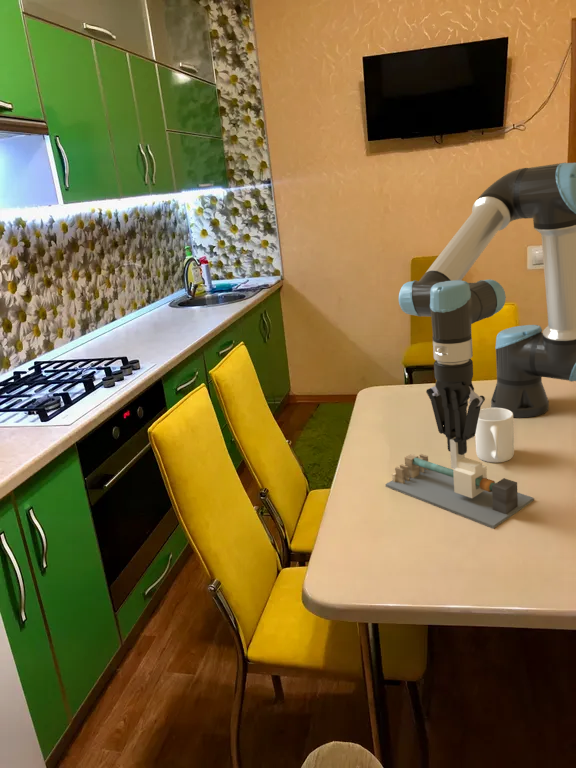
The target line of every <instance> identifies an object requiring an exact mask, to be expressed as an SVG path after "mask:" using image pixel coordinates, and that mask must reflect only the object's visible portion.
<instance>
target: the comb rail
mask: <svg viewBox="0 0 576 768" xmlns="http://www.w3.org/2000/svg"><path fill="white" fill-rule="evenodd" d="M424 469H425V470H432V471H435V472H438V473H441V474H444V475H447V476H450V477H453V478H454V474H453V470H454V469H453V468H449V467H446V466H444V465H440V464H436V463H434V462H430V461H429V456H428V455H426V454H422V453H420V454H419V455H416V454H413V453H411V454H408V455H406V456H404V464H400V465H399V467H398V466H396V467H395V468H394V470H395V472H393V473H392V474H391V476H392V479H391V480H393V482H396V481H397V482H400V483H402V484H403V483H405V480H406V481H409V477H410V478H414V477H416V476H418V475H420V474H419V472H422V473H423V472H424ZM475 484H476V485H477V486H480V489H482V490H485V491H488V492H492V499H493V510H495V511H498V512H501V513H503V514H508V513H509V512H511V511H512V510H513V509H515V508H516V507H518V498H517V492H518V482H517V481H514V480H511V479H507V478H502V479H500V480H499V481H497V482H495V480H492V479H489V478H488V477H487V478H483V479H480V478H476V479H475Z"/></svg>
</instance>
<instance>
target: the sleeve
mask: <svg viewBox="0 0 576 768" xmlns="http://www.w3.org/2000/svg"><path fill="white" fill-rule="evenodd" d="M487 470H488V469H487V466H486V465H484V464H483V462H481V461H478V460H474V459H472V458H467V457H464V458H462V459H460V460H459V461H457V468H455V469H453V474H454V492H456V493H458V494H461V495H464V496H467V497H470V498H474V497H475V496H477V495H478V494H480V493H481V492H483V491H485V490H482V489H480V486H477V485H476V484H475V479H476V478H480V479H483V478H487V479H488V474H487Z"/></svg>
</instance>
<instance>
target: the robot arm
mask: <svg viewBox="0 0 576 768" xmlns="http://www.w3.org/2000/svg"><path fill="white" fill-rule="evenodd" d="M471 209H472V210H471V214H470V215H469V216H468V217H467V219H466V220H465V222H463V224H462V225H461V226H460V228H459V229H458V230H457V231H456V233H455V234H454V235H453V237H452V238H451V239H450V240H449V242H448V243H447V244H446V246H445V247H444V248H443V250H442V251H441V252H440V253H439V255H438V256H437V257H436V259H435V260H434V261H433V262H432V264H431V265H430V266H429V268H428V269H427V270H426V272H425V273H424V274H423V275H422V276H421V278H420V279H419V281H418V280H413V281H412V280H411V281H407V282H405V283H403V285H402V286H401V288H400V290H399V293H398V304H399V307H400V309H401V311H402V312H404V313H405V314H406V315H410V316H417V317H431V327H432V328H431V329H432V346H433V347H432V349H433V351H432V353H433V359H434V360H435V361H434V363H433V369H434V370H433V371H434V373H433V374H434V379H435V380H436V381H435V385H434V386H432V387H429V388H427V389H426V391H425V392H426V394H427V396H428V398H429V399H430V403H431V406H432V410H433V415H434V418H435V423H436V426H437V430H438V433H440V434H443V435H445V438H446V441H447V442H446V443H447V450H448V452H449V453H450V454H449V455H450V467H451V468H450V469H453V470H454V469H455V468H457V461H459V460H460V459H462V458H464V457H465V456H466V455H465V454H466V453H467V452H468V445H467V444H468V443H467V441H469V440H470V439H472V438H474V437H475V433H476V428H477V423H478V418H479V413H480V410H481V407H482V405H483V404H484V402H485V400H486V397H485V396H484V395H478V394H477V393H476V391H475V387H474V385H473V381H472V380H473V377H474V365H473V364H474V361H473V360H472V358H473V355H474V354H473V338H472V325H473V324H475V323H477V322H480V321H482V320H484V319H488V318H490V317H493V316H494V315H495V314H497V313H499V312H500V311H501V310H502V309H503V308H504V306H505V305H506V304H505V303H506V301H507V300H506V298H507V296H506V292H505V289H504V287H503V286H502V285H501V283H499V282H498V281H496V280H494V279H483V280H482V279H481V280H480V279H479V280H478V281H476V282H468V281H465V280H463V279H464V278H465V276H466V275H467V274H468V272H469V271H470V270H471V268H472V267H473V265H474V264H475V263H476V261H477V260H478V259H479V258H480V256H481V254H482V253H483V252H484V250H485V249H487V247H488V246H489V244H490V242H491V241H492V240H493V238H495V236H496V235H497V233H498V231H502V230H504V229H505V228H507V226H509V224H510V223H512V222H513V221H516V220H521V219H532V221H533V229H534V230H535V231H537V232H538V233H539V234H540V236H541V247H542V260H543V271H544V272H543V273H544V284H545V285H544V286H545V287H544V288H545V297H546V298H545V299H546V300H545V301H546V310H547V311H546V312H547V326H546V327H545V328H544V329H543V328H542V327H541V325H538V324H526V325H525V324H524V325H519V326H518V325H517V326H516V325H515V326H512V327H509V328H508V327H507V328H505V329H502V330H501V331H499V332H498V333H497V335H496V338H495V356H496V357H495V359H496V360H495V361H496V362H495V363H496V364H495V365H496V384H495V388H494V391H493V393H492V397H491V400H490V406H491V407H490V408H504V409H507V410H510V411H511V412H512V413H513V418H517V419H518V418H521V419H522V418H532V417H537V416H540V415H544V414H545V413H547V412H548V411H549V398H548V395H547V393H546V392H547V391H546V389H545V387H544V385H543V381H542V378H547V379H555V380H561V381H569V382H576V162H559V163H554V164H546V165H540V166H539V165H538V166H534V167H533V166H532V167H523V168H518V169H515V170H512V171H511V172H508V173H506V174H504V175H503V176H502V177H499V178H498V179H497V180H496V181H494V182H493V183H492V184H491V185H489V186H488V187H486V189H485V190H484V191H483V192H482V193H481V194H480V195H479V196H478V198H477V199H476V200H475V202H474V203H473V204H472V206H471ZM467 408H468V409H467ZM465 458H466V457H465Z"/></svg>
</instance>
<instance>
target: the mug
mask: <svg viewBox="0 0 576 768" xmlns="http://www.w3.org/2000/svg"><path fill="white" fill-rule="evenodd" d="M514 433H515V432H514V417H513V413H512V412H511V411H510V410H507V409H504V408H491V407H485V408H482V409H481V408H480V413H479V418H478V423H477V428H476V433H475V436H474V437H475V438H474V439H475V453H476V456H477V458H478V459H479V460H481V461H483V462H487V463H493V464H494V463H496V464H497V463H503V462H507V461H509V460H511V459H512V458H513V457H514V454H515V446H514V445H515V444H514V443H515V441H514V439H515V438H514V437H515V436H514Z"/></svg>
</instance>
